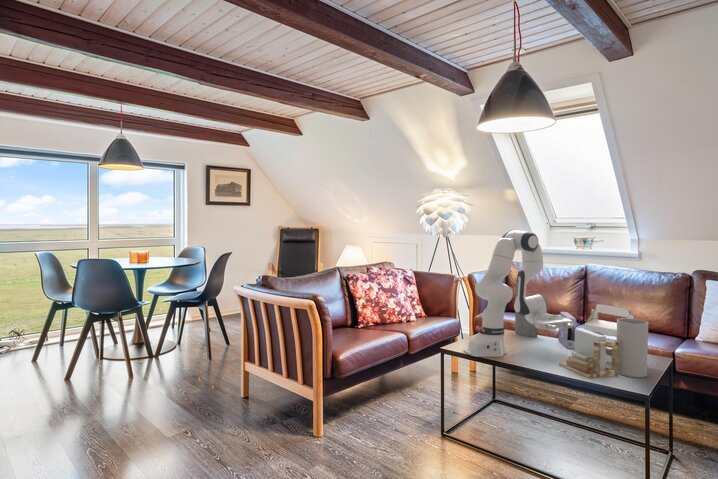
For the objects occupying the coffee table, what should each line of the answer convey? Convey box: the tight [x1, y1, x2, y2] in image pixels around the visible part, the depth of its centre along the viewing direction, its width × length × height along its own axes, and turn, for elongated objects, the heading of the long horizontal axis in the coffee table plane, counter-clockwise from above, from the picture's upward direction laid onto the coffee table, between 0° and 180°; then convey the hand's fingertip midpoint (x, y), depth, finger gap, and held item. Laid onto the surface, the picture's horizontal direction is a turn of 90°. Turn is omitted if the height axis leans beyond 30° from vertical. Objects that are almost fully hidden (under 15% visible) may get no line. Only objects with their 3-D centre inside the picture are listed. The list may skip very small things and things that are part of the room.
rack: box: [558, 340, 619, 379], centre depth 213 cm, size 16×20×16 cm
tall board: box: [573, 327, 607, 371], centre depth 214 cm, size 4×16×18 cm, turn 12°
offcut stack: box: [566, 351, 594, 374], centre depth 210 cm, size 6×13×7 cm, turn 12°
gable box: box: [584, 303, 635, 364], centre depth 229 cm, size 22×13×28 cm, turn 32°
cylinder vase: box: [615, 317, 649, 379], centre depth 207 cm, size 12×12×25 cm
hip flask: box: [514, 310, 538, 338], centre depth 280 cm, size 16×4×20 cm, turn 32°
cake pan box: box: [558, 311, 577, 350], centre depth 257 cm, size 19×5×18 cm, turn 170°
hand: (563, 327), depth 233 cm, fingers open, 8 cm apart
